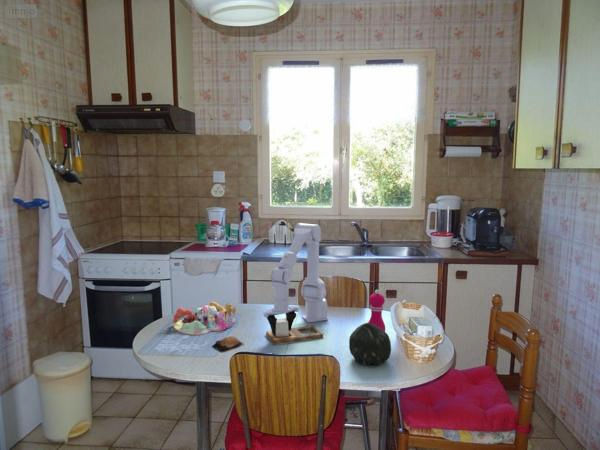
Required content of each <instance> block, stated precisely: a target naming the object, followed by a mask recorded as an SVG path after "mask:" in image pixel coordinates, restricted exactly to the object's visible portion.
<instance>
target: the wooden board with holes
mask: <svg viewBox="0 0 600 450" xmlns="http://www.w3.org/2000/svg"><path fill="white" fill-rule="evenodd" d="M305 332H312V333H306V334H303V333H305ZM265 335H266V337H267V338H268V340H270V342H271V343H272V344H273V345H274V346H275V345H276V346H277V345H284V344H289V343H296V342H303V341H304V342H305V341H309V340H316V339H324V333H323V332H322V331H320V330H319V328H317V327H316V326H315V325H313V324H311V325H304V326H296V327H291V331H289V336H288V337H282V338H276V337H275V334H273V333H272V330H268V331H265Z"/></svg>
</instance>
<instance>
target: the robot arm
mask: <svg viewBox="0 0 600 450" xmlns="http://www.w3.org/2000/svg"><path fill="white" fill-rule="evenodd" d="M293 234H294V237H293V240H292V241H291V244H290V247H289V250H288V251H286V252H284V254H283V256H282V257H281V259H280V261H279V263H278V264H277V267H275V268H273V269H272V271H271V275H270V280H271V282H272V283H271V284H272V287H273V308H270V309H267V310H264V311H263V312H262V313H263V317H264V318H266V319H267V322H268V324H269V326H270V329H271V330H270V331H272V333H273V334H276V321H277V319H278V318H277V317H276V316H278V315H283V314H285V318H286V319H287V321H288V330H289V331H291V328H293V323H294V321H295V319H296V317H297V313H298V312H300V307H299V306H297V305H293V306H292V305H291V306H290V305H289V303H290V302H289V299H290V298H289V297H290V296H289V295H290V294H289V288H290V287H289V284H290V282H291V280H292V279H293V278H292V277H293V276H292V275H293V273H294V272H293V269H294V268H295V265H296V263H297V261H298V257H297V255H298V254H299V252H300V250H301V249H302V247H303V245H304V244H305V243H306V254H307V255H306V258H307V260H306V265H307V267H306V268H307V269H306V271H307V273H306V276H307V277H306V278H305V280H303V281H302V287H301V292H300V293H301V297H303V299H304V300H305V315H302V316H301V318H303V319H304V320H305V321H307V322H308V323H315V322H322V321H328V320H329V317H328V308H329V307H328V302H327V299H326V295H327V289H326V285H325V284H326V283H325V281H323V280H322V279H321V278H320V256H319V255H320V242H322V229H321V226H320V225H319V224H318V223H316V224H315V223H314V224H311V223H302V222H298V223H296V225H295V227H294V230H293Z"/></svg>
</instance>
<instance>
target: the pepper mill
mask: <svg viewBox="0 0 600 450" xmlns="http://www.w3.org/2000/svg"><path fill="white" fill-rule="evenodd" d="M368 302H369V304H370V306H369V309H370V311H371V312H370V313H371V314H370V318H369V320H368V322H367V323H371V324H374V325H376V326H378V327H380V328H381V329H382V330H383V331H385V332H386V324H385V322H384V319H383V316H382V314H383V310H384V306H383V305H385V302H386V300H385V297H384V295H383V294H381V293H380V290H379V289H376V290H374V293H372V294H371V295H369V300H368Z"/></svg>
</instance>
